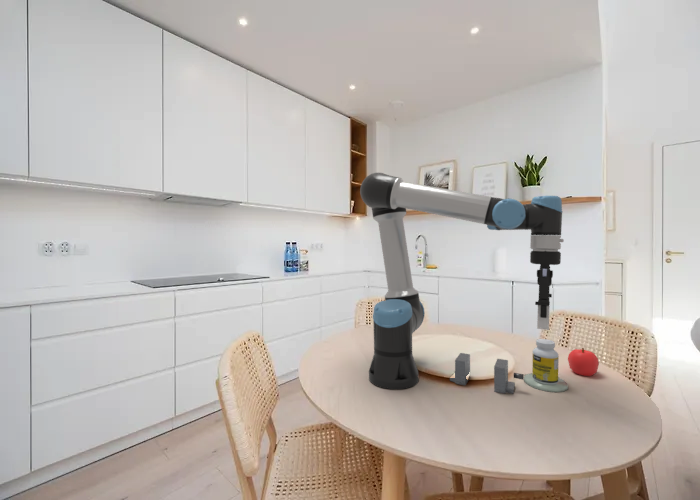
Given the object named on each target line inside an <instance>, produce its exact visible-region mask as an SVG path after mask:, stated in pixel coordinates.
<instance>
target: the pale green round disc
mask: <svg viewBox="0 0 700 500" xmlns="http://www.w3.org/2000/svg"><path fill="white" fill-rule="evenodd" d="M523 381H524V383H525V384H526V385H528V386H529V387H531V388H533V389H536V390H539V391H542V392H543V391H544V392H550V393H562V392H566V391H567V390H568V389H569V384H568V382H567V381H566V380H565V379H563V378H560V377H558V383H557V384H554V385H547V384H542V383H539V382H537V381H535V380H534V379H533V375H532V373H527V374H525V375H524V380H523Z"/></svg>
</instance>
